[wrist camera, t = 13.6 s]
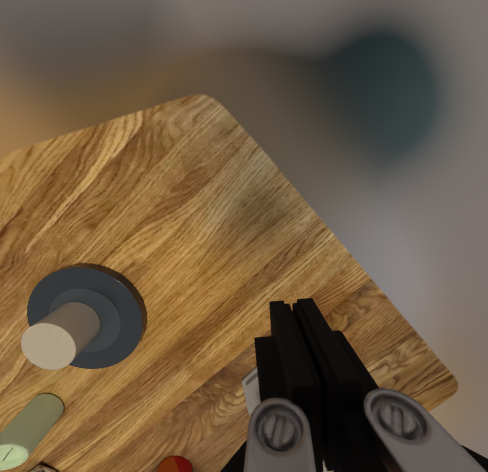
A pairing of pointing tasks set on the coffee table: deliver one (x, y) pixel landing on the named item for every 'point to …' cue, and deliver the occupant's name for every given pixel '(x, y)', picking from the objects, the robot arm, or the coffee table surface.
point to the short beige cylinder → (60, 335)
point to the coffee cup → (175, 465)
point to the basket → (39, 469)
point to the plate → (102, 302)
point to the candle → (28, 430)
